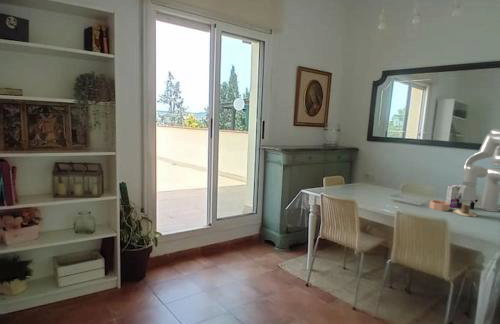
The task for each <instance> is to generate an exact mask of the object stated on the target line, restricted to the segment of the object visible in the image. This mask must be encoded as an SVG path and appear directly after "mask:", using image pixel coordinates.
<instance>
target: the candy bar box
mask: <svg viewBox="0 0 500 324" xmlns="http://www.w3.org/2000/svg"><path fill="white" fill-rule="evenodd" d="M461 185H462V184H448V185H447V190H446V197H445V202H448V203H450V208H457V202H456V200H455V195H458V193H459V190H460V187H461ZM462 205H463V201H462V202H461V208H462Z"/></svg>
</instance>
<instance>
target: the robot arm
mask: <svg viewBox="0 0 500 324" xmlns="http://www.w3.org/2000/svg"><path fill="white" fill-rule="evenodd" d="M480 145H481V146H480V147H479V150H478V151H477V152H475V153H473V154H472V155H470V156H469V157H468V158H467V159H466V161H465V163H464V165H463V169H462V173H463V174H464V175H463V180H462V184H460V185H461V187H460V190H459V193H458V195H455V200H456V202H457V207H456V208H457V209H461V208H462V207H461V202H462V203H463V201H465V202H466V201H469V202H470V203H469V206H470V208H469V209H471V210H474V209H475V204H476V203H477V202H478V201H479V200H480V196H478V195H477V187H476V186H477V185H478V183H477V181H478V178H481V179H482V178H485V179H484V188H483V193H482V199H481V204H480V205H478V209H480V210H484V211H488V212H500V204H499V199H500V168H499V167H500V128H493V129H491V130H489V133H488V134H486V135H485V137H484V139H483V142H482V143H481V144H480ZM489 158H490V164H491V165H492V166H493V167H487V168H486V167H484V166H480V165H479V166H478V165H474V164H475V163H476V162H478V161H480V160H485V159H489ZM494 166H495V167H494Z"/></svg>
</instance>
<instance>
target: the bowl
mask: <svg viewBox="0 0 500 324" xmlns="http://www.w3.org/2000/svg"><path fill="white" fill-rule="evenodd" d="M428 207H429V208H430V209H432V210H435V211H441V212H448V211H450V209H451V207H450V203H448V202H446V200H439V199H431V200H430V201H429V206H428Z"/></svg>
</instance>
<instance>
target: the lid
mask: <svg viewBox="0 0 500 324" xmlns="http://www.w3.org/2000/svg"><path fill="white" fill-rule="evenodd" d="M470 209H471V208H470V205H468V204H462V207H461V208H460V209H459V208H457V209H455V208H454V209H453V210H452V213H453V214H456V215H459V216H461V215H462V217H467V218H468V217H469V218H476V216H478V213H475V212H474V211H470Z"/></svg>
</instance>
